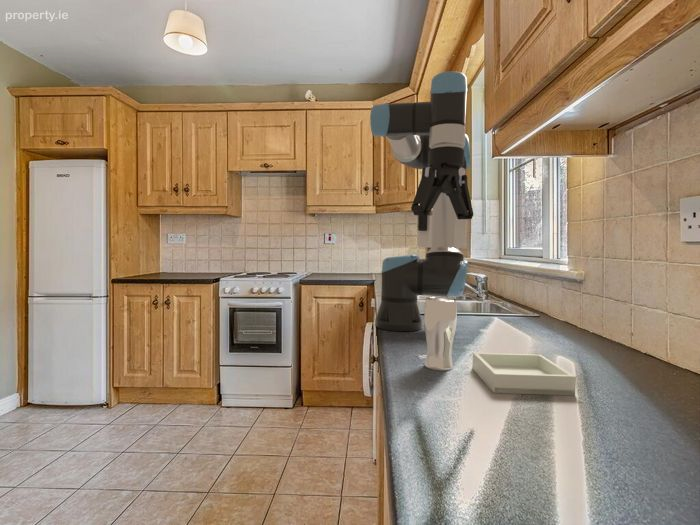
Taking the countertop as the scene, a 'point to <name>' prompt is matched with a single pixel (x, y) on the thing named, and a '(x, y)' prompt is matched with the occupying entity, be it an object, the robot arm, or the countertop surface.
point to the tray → (523, 374)
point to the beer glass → (439, 332)
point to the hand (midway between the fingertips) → (443, 247)
